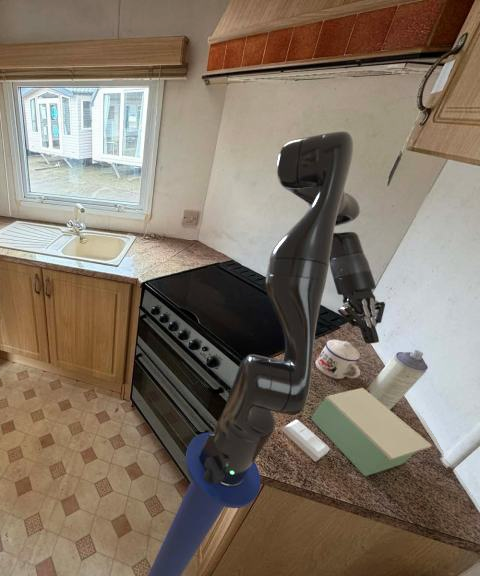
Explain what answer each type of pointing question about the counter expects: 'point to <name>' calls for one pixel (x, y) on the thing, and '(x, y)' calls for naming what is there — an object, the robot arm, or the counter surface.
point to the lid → (378, 423)
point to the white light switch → (306, 440)
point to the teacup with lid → (338, 359)
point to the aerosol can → (397, 377)
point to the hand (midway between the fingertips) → (372, 342)
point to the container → (353, 441)
